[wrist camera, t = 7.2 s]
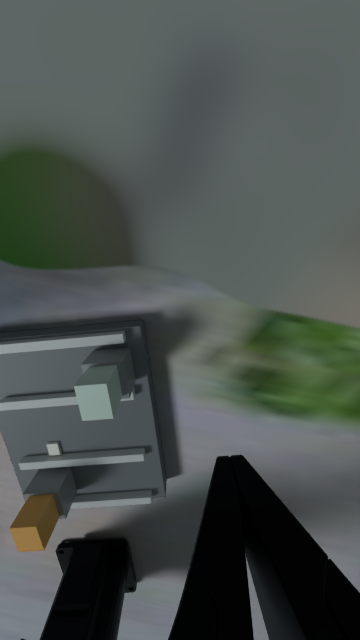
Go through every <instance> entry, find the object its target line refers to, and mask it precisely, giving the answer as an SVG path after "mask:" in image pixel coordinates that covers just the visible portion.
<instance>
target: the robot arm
mask: <svg viewBox="0 0 360 640" xmlns="http://www.w3.org/2000/svg"><path fill="white" fill-rule="evenodd" d="M56 554H57V557H58V560H59V563H60V566H61V569H62V572H63V576H62V579H61V582H60V585H59V587H58V590H57V593H56V596H55V598H54V601H53V604H52V607H51V610H50V612H49V615H48V618H47V621H46V623H45V626H44V629H43V632H42V634H41V637H40V640H117V636H118V630H119V624H120V618H121V612H122V606H123V600H124V593H128V592H134V591H136V586H137V582H136V577H135V572H134V568H133V563H132V559H131V554H130V549H129V545H128V542H127V541H126V540H124V539H119V540H104V541H88V542H72V543H60V544H59V545H58V547H57V549H56ZM245 554H246V557H247V561H248V564H249V568H250V572H251V575H252V579H253V583H254V586H255V590H256V593H257V597H258V601H259V604H260V608H261V611H262V615H263V619H264V622H265V626H266V630H267V633H268V637H269V640H360V593H359V592H358V590H357V589H356V588H355V587H354V586H353V585H352V584H351V582H350V581H349V580H348V579H347V578H346V577H345V576H344V574H343V573H342V572H341V571H340V570H339V568H338V567H337V566H336V565H335V564H334V563H333V561H332V560H331V559H328V556H327V554H326V553H325V552H324V551H323V550H322V549H321V547H320V546H319V545H318V544H317V543H316V541H315V540H314V539H313V538H312V537H311V536H310V534H309V533H308V532H307V531H306V530H305V528H304V527H303V526H302V525H301V524H300V523H299V521H298V520H297V519H296V518H295V517H294V515H293V514H292V513H291V512H290V511H289V510H288V508H287V507H286V506H285V505H284V504H283V502H282V501H281V500H280V499H279V498H278V497H277V495H276V494H275V493H274V492H273V491H272V489H271V488H270V487H269V486H268V485H267V484H266V482H265V481H264V480H263V479H262V478H261V476H260V475H259V474H258V473H257V472H256V471H255V469H254V468H253V467H252V466H251V465H250V463H249V462H248V461H247V460H246V459H245V458H244V456H242V455H232V456H230V457H229V456H219V457H217V459H216V463H215V467H214V471H213V475H212V479H211V483H210V487H209V491H208V495H207V499H206V503H205V507H204V511H203V515H202V519H201V523H200V527H199V531H198V535H197V539H196V543H195V547H194V551H193V555H192V559H191V563H190V568H189V570H188V574H187V578H186V582H185V586H184V590H183V593H182V597H181V600H180V604H179V607H178V611H177V614H176V617H175V620H174V623H173V626H172V629H171V632H170V635H169V638H168V640H254V638H253V628H252V617H251V607H250V597H249V587H248V577H247V567H246V557H245ZM21 640H25V639H21Z"/></svg>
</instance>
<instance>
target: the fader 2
mask: <svg viewBox="0 0 360 640" xmlns="http://www.w3.org/2000/svg"><path fill="white" fill-rule="evenodd" d="M81 367H82V372H83V375H82V376H81V378H80V379H79V380H78V382H77V383H76V384H75V385H74V389H75V393H76V397H77V401H78V405H79V410H80V414H81V418H82V421H89V420H102V419H113V418H114V416H115V413H116V411H117V408H118V406H119V403H120V401H121V399H129V398H130V396H131V393H132V390H133V387H134V384H135V382H136V380H135V373H134V367H133V361H132V355H131V349H130V347H128V348H117V349H105V350H94V351H92V352H91V353H90V355H89V356H88V357H87V358H86V359H85V360H84V362H83V363H82V364H81Z"/></svg>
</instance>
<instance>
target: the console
mask: <svg viewBox="0 0 360 640" xmlns="http://www.w3.org/2000/svg"><path fill="white" fill-rule="evenodd" d="M128 347H130V349H131V355H132V361H133V367H134V373H135V380H136V382H135V384H134V387H133V390H132V393H131V396H130V398H129V399H121V401H120V403H119V406H118V408H117V411H116V413H115V416H114V418H113V419H102V420H89V421H82V418H81V414H80V410H79V405H78V401H77V397H76V393H75V389H74V385H75V384H76V383H77V382H78V380H79V379H80V378H81V376H82V375H83V372H82V367H81V364H82V363H83V362H84V360H85V359H86V358H87V357H88V356H89V355H90V353H91V352H92V351H94V350H105V349H117V348H128ZM0 430H1V433H2V436H3V439H4V442H5V444H6V447H7V450H8V453H9V456H10V459H11V461H12V464H13V467H14V470H15V473H16V476H17V478H18V481H19V484H20V487H21V490H22V492H23V493H24V491H25V490H26V488H27V487H28V485H29V484H30V482H31V480H32V479H33V477H34V476H35V474H36V473H37V471H38V470H39V469H43V468H57V467H71V470H72V473H73V477H74V481H75V484H76V488H77V493H76V496H75V498H74V500H73V503H72V505H71V507H70V509H78V508H93V507H107V506H122V505H137V504H151V503H152V498H158V497H165V495H166V473H165V466H164V459H163V452H162V445H161V438H160V431H159V424H158V417H157V410H156V403H155V396H154V389H153V382H152V375H151V368H150V361H149V354H148V347H147V340H146V333H145V326H144V320H134V321H123V322H112V323H101V324H90V325H79V326H68V327H57V328H46V329H35V330H25V331H14V332H3V333H0Z"/></svg>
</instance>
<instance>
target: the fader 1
mask: <svg viewBox="0 0 360 640" xmlns="http://www.w3.org/2000/svg"><path fill="white" fill-rule="evenodd" d="M76 493H77V488H76V484H75V481H74V477H73V473H72V470H71V467H57V468H43V469H39V470H38V471H37V473H36V474H35V476H34V477H33V479H32V480H31V482H30V484H29V485H28V487H27V488H26V490H25V491H24V493H23V497H24V500H25V504H24V506H23V507H22V509H21V510H20V512H19V514H18V515H17V517H16V519H15V520H14V522H13V523H12V525H11V527H10V531H11V534H12V536H13V539H14V541H15V544H16V546H17V549H18V551H19V552H27V551H43V550H45V548H46V545H47V543H48V541H49V539H50V536H51V534H52V532H53V530H54V528H55V525H56V523H57V521H58V519H64V518H66V517H67V514H68V512H69V510H70V507H71V505H72V503H73V500H74V498H75V496H76Z"/></svg>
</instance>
